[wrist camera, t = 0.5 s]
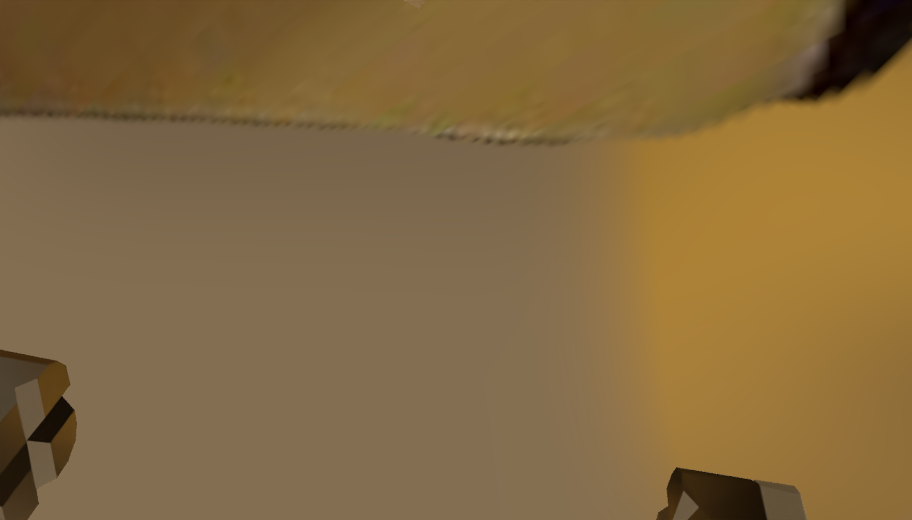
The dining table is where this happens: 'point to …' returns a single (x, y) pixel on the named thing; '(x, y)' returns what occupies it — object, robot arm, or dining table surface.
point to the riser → (415, 3)
